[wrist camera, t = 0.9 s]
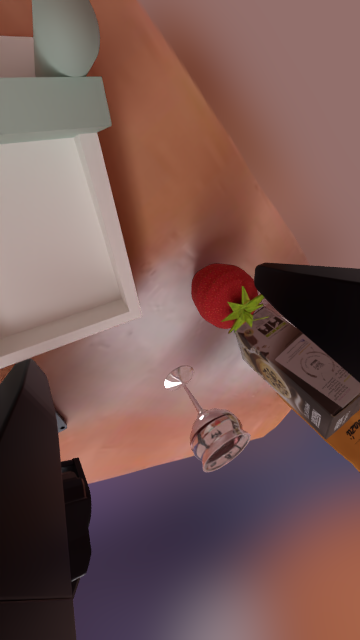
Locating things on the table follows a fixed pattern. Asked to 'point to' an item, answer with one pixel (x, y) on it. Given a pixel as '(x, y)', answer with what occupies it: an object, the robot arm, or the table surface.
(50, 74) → the cradle stand
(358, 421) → the coffee package
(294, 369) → the coffee box
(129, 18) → the table surface
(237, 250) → the table surface
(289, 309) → the robot arm
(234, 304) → the strawberry
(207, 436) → the wineglass
